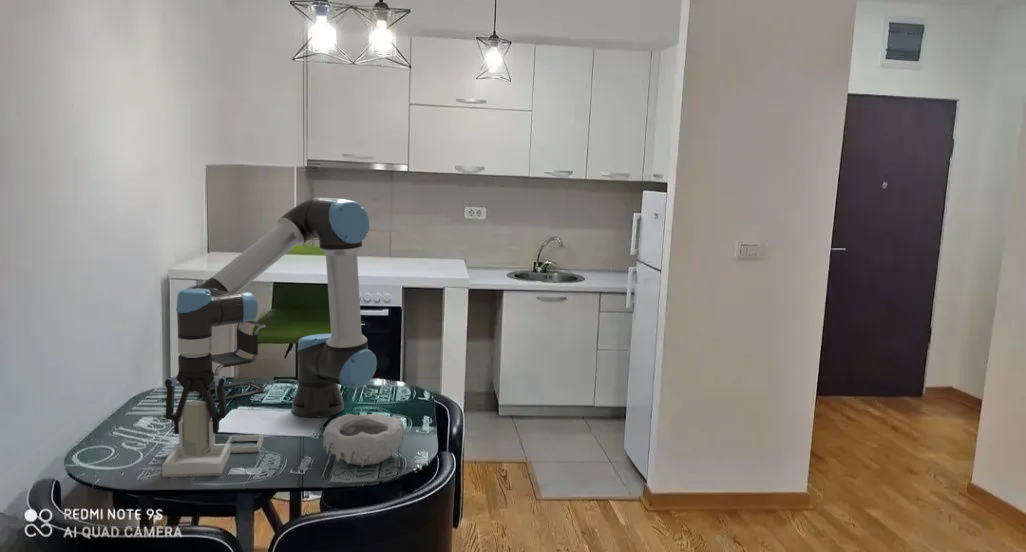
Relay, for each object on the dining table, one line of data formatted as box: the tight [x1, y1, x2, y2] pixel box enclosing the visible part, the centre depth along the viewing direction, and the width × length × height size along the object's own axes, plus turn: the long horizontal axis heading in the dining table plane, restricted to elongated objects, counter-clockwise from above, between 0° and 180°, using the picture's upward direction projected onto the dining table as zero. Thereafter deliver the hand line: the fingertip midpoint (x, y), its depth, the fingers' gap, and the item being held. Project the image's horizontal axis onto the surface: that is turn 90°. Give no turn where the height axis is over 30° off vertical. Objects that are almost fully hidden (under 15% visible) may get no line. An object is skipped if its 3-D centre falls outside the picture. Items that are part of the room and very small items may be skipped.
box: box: [182, 399, 211, 457], centre depth 185 cm, size 5×4×13 cm
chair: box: [209, 320, 267, 401], centre depth 244 cm, size 13×17×22 cm
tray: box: [161, 443, 231, 478], centre depth 187 cm, size 13×13×3 cm
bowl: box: [322, 413, 405, 468], centre depth 194 cm, size 21×20×10 cm
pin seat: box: [225, 434, 264, 454], centre depth 200 cm, size 8×8×2 cm
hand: (197, 445), depth 186 cm, fingers closed on box, 6 cm apart
